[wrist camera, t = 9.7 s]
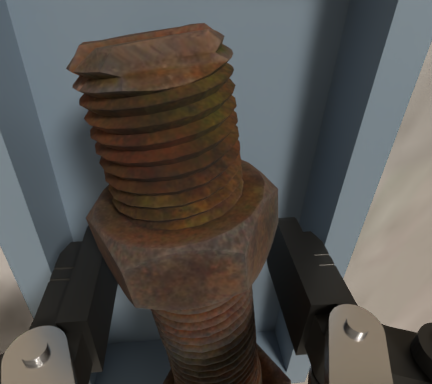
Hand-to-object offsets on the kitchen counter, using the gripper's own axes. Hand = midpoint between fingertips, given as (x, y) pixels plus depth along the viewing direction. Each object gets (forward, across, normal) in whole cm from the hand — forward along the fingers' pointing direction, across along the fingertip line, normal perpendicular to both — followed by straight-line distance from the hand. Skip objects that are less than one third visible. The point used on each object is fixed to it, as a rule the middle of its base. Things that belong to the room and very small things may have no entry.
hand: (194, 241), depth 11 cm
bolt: (+1, 0, +1) cm, 1 cm away
